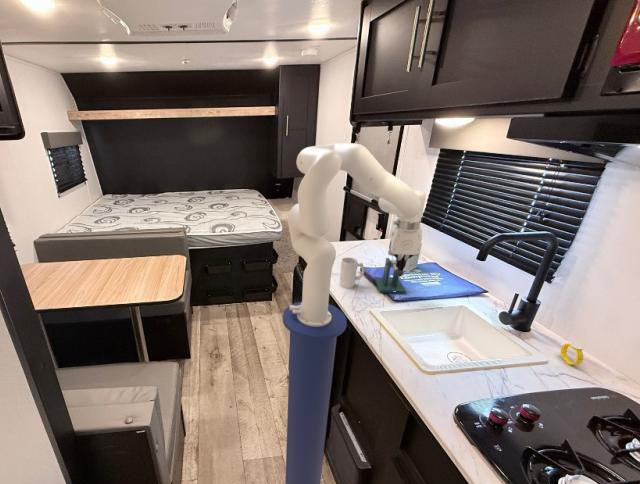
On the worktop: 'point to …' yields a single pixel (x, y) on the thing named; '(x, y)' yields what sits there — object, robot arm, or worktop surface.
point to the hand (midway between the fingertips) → (400, 268)
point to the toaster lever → (397, 272)
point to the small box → (411, 262)
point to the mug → (349, 272)
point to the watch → (578, 351)
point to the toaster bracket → (389, 281)
